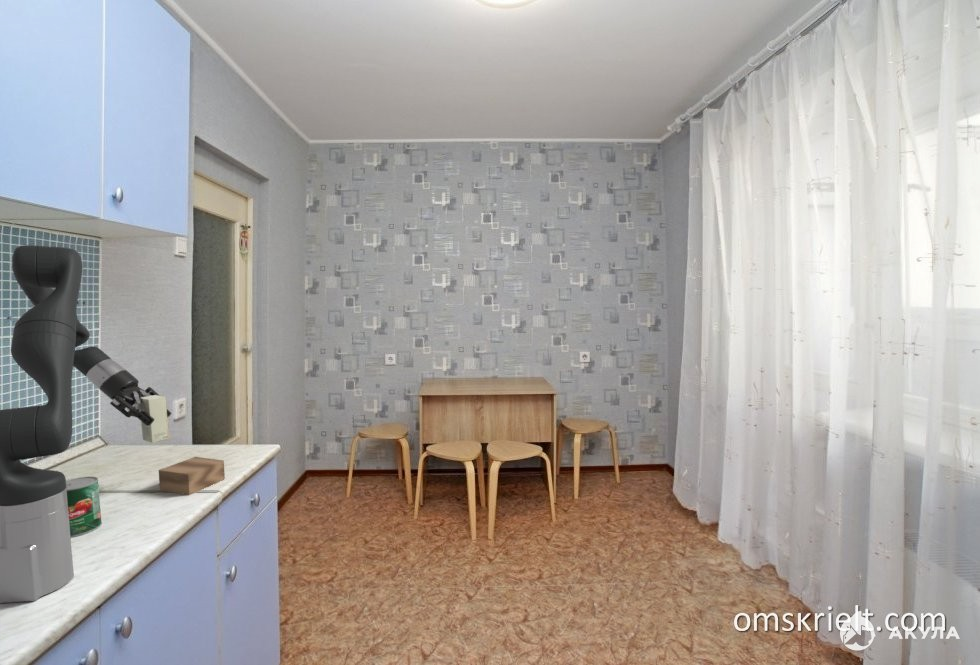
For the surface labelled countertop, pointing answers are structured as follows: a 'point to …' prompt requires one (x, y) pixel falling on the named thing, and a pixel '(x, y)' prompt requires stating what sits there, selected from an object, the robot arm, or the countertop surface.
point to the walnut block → (191, 475)
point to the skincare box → (155, 418)
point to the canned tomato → (83, 505)
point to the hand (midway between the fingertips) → (160, 419)
